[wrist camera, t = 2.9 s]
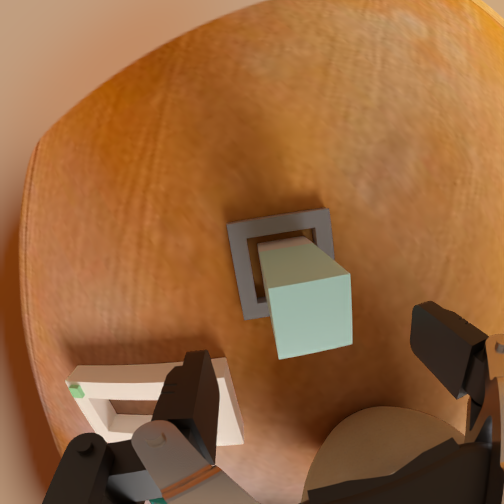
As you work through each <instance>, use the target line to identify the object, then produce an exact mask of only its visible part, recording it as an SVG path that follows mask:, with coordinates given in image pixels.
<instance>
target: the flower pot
mask: <svg viewBox="0 0 504 504" xmlns="http://www.w3.org/2000/svg"><path fill="white" fill-rule="evenodd" d="M452 437H453V438H454V440H455V441H456V443H457V444H458V445H459V444H463V443H464V440H465V436H464V435H463V434H462V433H461V432H460V431H458V430H457V429H455V428H454V427H452V426H451V425H449V424H448V423H446V422H444V421H442V420H440V419H438V418H436V417H434V416H432V415H429V414H426V413H424V412H420V411H417V410H413V409H408V408H401V407H390V406H378V407H371V408H366V409H363V410H360V411H358V412H356V413H354V414H352V415H350V416H348V417H347V418H345V419H344V420H343V421H341V422H340V423H339V424H338V425H337V426H336V427H335V428H334V429H333V430H332V431H331V433H330V434H329V435H328V437H327V438H326V440H325V441H324V443H323V444H322V446H321V447H320V449H319V451H318V453H317V454H316V456H315V458H314V460H313V462H312V464H311V467H310V469H309V472H308V475H307V478H306V481H305V485H304V490H303V494H302V501H301V502H304V501H306V500H308V494H307V490H312V489H316V488H321V487H325V486H329V485H333V484H337V483H341V482H344V481H348V480H358V479H366V478H374V477H381V476H387V475H391V474H393V473H395V472H396V471H398V470H399V469H401V468H402V467H403V466H405V465H406V464H408V463H409V462H410V461H412V460H413V459H415V458H416V457H417V456H419V455H420V454H421V453H422V452H424V451H427V450H429V449H431V448H433V447H435V446H437V445H439V444H441V443H442V442H444V441H446V440H448V439H450V438H452Z"/></svg>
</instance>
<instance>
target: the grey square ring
mask: <svg viewBox="0 0 504 504" xmlns="http://www.w3.org/2000/svg"><path fill="white" fill-rule="evenodd" d="M308 228H312V233H313V241H314V244H315V245H316V246H317V247H318V248H320V249H321V250H322V251H323V252H325V253H326V254H327V255H328V256H330V257H331V258H332V259H333V260H334V261H335V258H334V248H333V238H332V229H331V220H330V212H329V208H325V207H324V208H317V209H310V210H303V211H297V212H290V213H284V214H277V215H271V216H265V217H259V218H253V219H247V220H241V221H235V222H229V223H227V231H228V236H229V242H230V247H231V253H232V258H233V263H234V269H235V274H236V280H237V285H238V290H239V295H240V301H241V306H242V311H243V316H244V320H250V319H256V318H262V317H268V316H270V314H269V309H268V304H267V300H266V296H265V297H259V298H257V297H256V291H255V285H254V279H253V273H252V268H251V262H250V256H249V250H248V244H247V238H253V237H259V236H265V235H271V234H277V233H283V232H290V231H296V230H302V229H308Z"/></svg>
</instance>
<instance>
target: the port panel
mask: <svg viewBox="0 0 504 504" xmlns="http://www.w3.org/2000/svg"><path fill="white" fill-rule="evenodd" d="M211 362H212V365H213V368H214V372H215V375H216V378H217V381H218V385H219V392H220V402H219V415H218V428H217V442H216V446H225V445H238V444H244V422H243V419H242V415H241V412H240V408H239V405H238V401H237V397H236V394H235V390H234V386H233V383H232V379H231V375H230V371H229V367H228V364H227V360H226V357H223V358H215V359H211ZM182 365H183V362H173V363H158V364H139V365H77V367H76V368H75V369H74V370H73V371H72V373H71V374H70V375H69V376H68V378H67V379H66V380H65V382H66V384H67V386H68V388H69V390H70V392H71V394H72V396H73V397H74V399H75V400H76V402H77V404H78V405H79V407H80V409H81V410H82V412H83V414H84V415H85V417H86V419H87V420H88V422H89V423H90V425H91V426H92V428H93V429H94V431H95V432H96V434H99V435H101V436H102V437H103V438H104V440H105V441H106V442H110V443H114V442H119V441H125V440H129V439H132V435H133V433H134V432H135V431H136V429H137V428H139V427H140V426H141V425H143V424H145V423H147V422H151V419H152V416H153V415H128V414H117V413H116V411H115V410H114V408H113V406H112V404H111V402H110V401H109V399H112V400H158V399H159V396H160V394H161V390H162V387H163V386H164V385H163V384H164V381H165V379H166V376H167V374H168V373H169V372H170V371H171V370H172V369H173V368H174V367H175V366H182Z"/></svg>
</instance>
